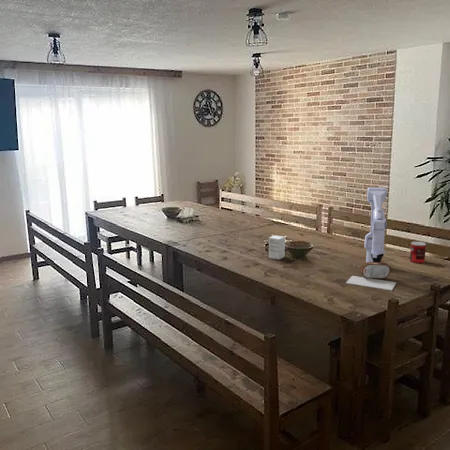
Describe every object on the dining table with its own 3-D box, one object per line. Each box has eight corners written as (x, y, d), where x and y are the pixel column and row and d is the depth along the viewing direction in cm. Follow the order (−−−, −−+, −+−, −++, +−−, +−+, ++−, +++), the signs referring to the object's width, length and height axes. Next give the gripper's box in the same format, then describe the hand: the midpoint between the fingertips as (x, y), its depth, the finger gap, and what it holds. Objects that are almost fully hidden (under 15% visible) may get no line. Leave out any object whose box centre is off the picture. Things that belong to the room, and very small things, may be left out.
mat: (352, 276, 236) (352, 275, 236) (396, 283, 225) (396, 282, 225) (345, 283, 226) (345, 282, 226) (391, 290, 215) (391, 289, 215)
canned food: (413, 258, 266) (414, 240, 263) (426, 261, 260) (428, 243, 258) (407, 261, 261) (408, 243, 258) (421, 264, 255) (422, 245, 253)
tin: (387, 277, 234) (390, 262, 232) (390, 279, 231) (392, 264, 229) (359, 276, 233) (361, 261, 231) (361, 278, 230) (363, 263, 228)
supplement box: (274, 255, 277) (274, 235, 274) (285, 256, 273) (285, 236, 270) (268, 257, 271) (268, 237, 268) (279, 259, 267) (279, 239, 264)
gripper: (383, 246, 223) (381, 272, 226) (389, 240, 235) (387, 265, 238) (368, 244, 226) (367, 270, 229) (375, 238, 239) (373, 263, 242)
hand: (376, 267), depth 234 cm, fingers closed
